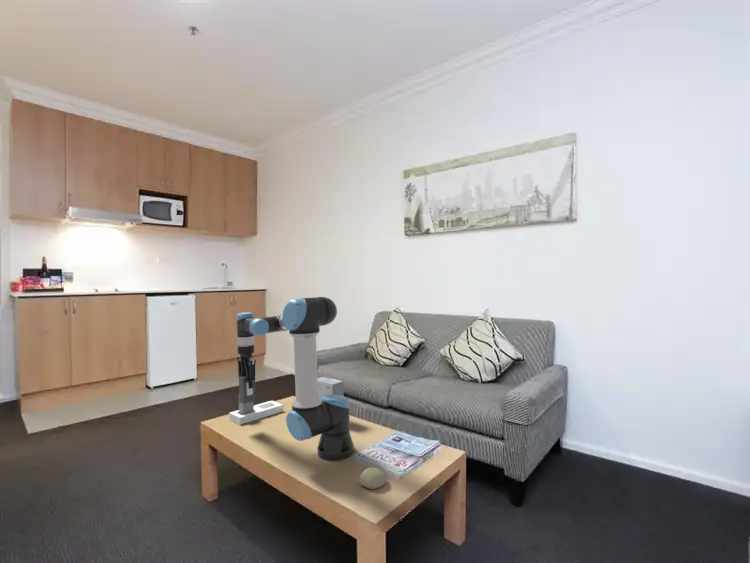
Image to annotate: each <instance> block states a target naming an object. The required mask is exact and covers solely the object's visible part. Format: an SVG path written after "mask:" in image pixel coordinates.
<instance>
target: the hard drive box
mask: <svg viewBox="0 0 750 563" xmlns="http://www.w3.org/2000/svg"><path fill="white" fill-rule="evenodd" d="M317 381H318V398H320V399H321V397H322V396H324V395H341V396H344V381H343V380H339V379H334V378H329V377H325V376H321V377H317ZM344 397H345V396H344Z"/></svg>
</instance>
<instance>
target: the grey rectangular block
mask: <svg viewBox="0 0 750 563" xmlns="http://www.w3.org/2000/svg"><path fill="white" fill-rule="evenodd" d="M246 381H247V375H246V376H242V377H239V376H238V389H239V390H238V393H239V394H238V401H239V400H240V403H243V404H246V403H249V402H256V379H255V380H254V381H253V394H252V395H249V396H247V384H246Z"/></svg>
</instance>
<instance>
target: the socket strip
mask: <svg viewBox="0 0 750 563" xmlns="http://www.w3.org/2000/svg"><path fill="white" fill-rule="evenodd" d="M254 402H255V401H253V402H249V403H246V404H243V403H240V400H239V399H238V410H234V411H231V412H228V413H229V414H228V415H229V418H228V420H229V419H230V420H229V421H231V420H232V421H231V422H233V421H234V423H235V422H236V424H237V423H238V424H237V425H239V424H240V426H241V424H242V425H245V424H248V423H250V422H254V421H257V420H260V419H263V418H267V417H269V416H272V415H275V414H279V413H283V412H284V404H282V403H279V402H278V401H274V400H269V401H266V402H265V401H264V402H262V403H261V402H260V403H258V404H255V403H254ZM254 404H255V405H254ZM244 423H245V424H244Z"/></svg>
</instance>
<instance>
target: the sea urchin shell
mask: <svg viewBox="0 0 750 563" xmlns="http://www.w3.org/2000/svg"><path fill="white" fill-rule="evenodd" d="M359 483H360V485H362V486H363V487H365V488H367V489H369V490H375V489H378V488H381V487H383V486H384V485H385V484H386V475H385V474H384V472H383V471H382V470H381V469H380V468H378V467H367V468H365V470H363V471H362V473H361V474H360V476H359Z"/></svg>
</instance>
